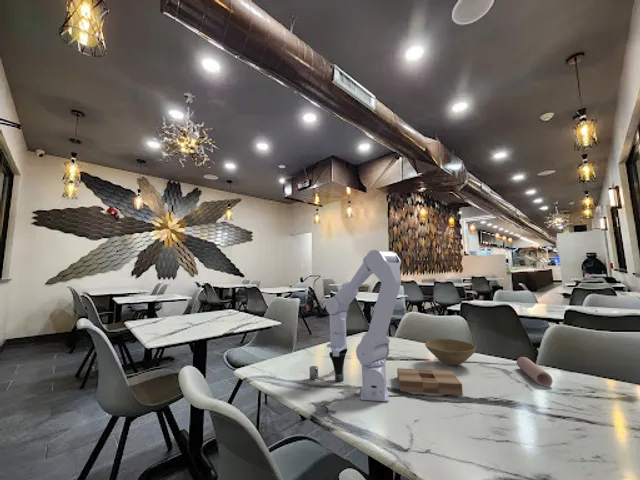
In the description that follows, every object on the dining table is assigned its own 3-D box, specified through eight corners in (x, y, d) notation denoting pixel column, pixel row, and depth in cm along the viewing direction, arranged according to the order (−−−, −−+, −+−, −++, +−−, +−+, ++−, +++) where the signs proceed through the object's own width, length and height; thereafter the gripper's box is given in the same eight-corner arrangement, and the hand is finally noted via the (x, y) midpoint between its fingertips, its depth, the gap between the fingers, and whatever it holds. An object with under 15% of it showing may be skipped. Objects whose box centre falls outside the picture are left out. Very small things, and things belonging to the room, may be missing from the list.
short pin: (317, 381, 97) (317, 368, 97) (308, 380, 97) (308, 368, 98) (318, 377, 100) (318, 366, 100) (310, 377, 100) (310, 365, 101)
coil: (553, 373, 88) (530, 357, 105) (535, 370, 90) (516, 355, 107) (553, 389, 88) (530, 370, 105) (535, 386, 89) (515, 367, 106)
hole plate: (462, 394, 84) (461, 384, 84) (400, 391, 87) (400, 380, 87) (451, 379, 95) (451, 370, 96) (397, 377, 99) (397, 368, 99)
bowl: (473, 376, 98) (471, 352, 99) (420, 366, 109) (419, 345, 110) (480, 362, 113) (479, 342, 114) (433, 355, 124) (432, 336, 125)
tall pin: (343, 381, 95) (342, 357, 96) (334, 381, 96) (333, 356, 96) (344, 378, 98) (343, 354, 99) (335, 377, 98) (335, 354, 99)
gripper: (330, 327, 107) (330, 365, 105) (323, 336, 92) (324, 379, 91) (348, 328, 105) (349, 366, 103) (344, 336, 91) (345, 380, 89)
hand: (339, 372), depth 97 cm, fingers closed on tall pin, 3 cm apart
